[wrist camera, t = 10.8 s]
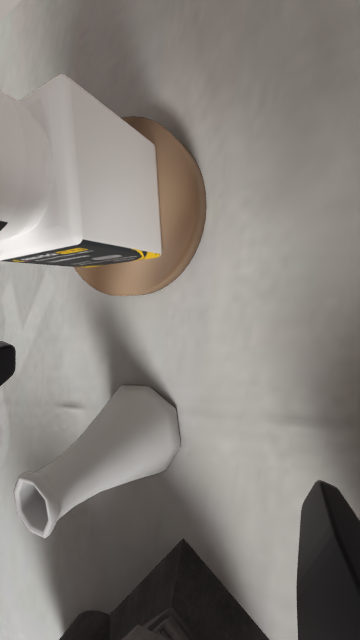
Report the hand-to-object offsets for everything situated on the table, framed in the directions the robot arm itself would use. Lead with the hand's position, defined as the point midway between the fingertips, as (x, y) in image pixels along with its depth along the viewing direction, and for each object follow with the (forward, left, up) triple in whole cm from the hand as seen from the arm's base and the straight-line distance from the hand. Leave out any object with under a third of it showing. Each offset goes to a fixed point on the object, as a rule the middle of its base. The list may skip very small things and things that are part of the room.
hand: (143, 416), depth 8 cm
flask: (+6, +10, -12) cm, 17 cm away
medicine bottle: (+11, -6, -10) cm, 16 cm away
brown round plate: (+11, -6, -12) cm, 18 cm away
